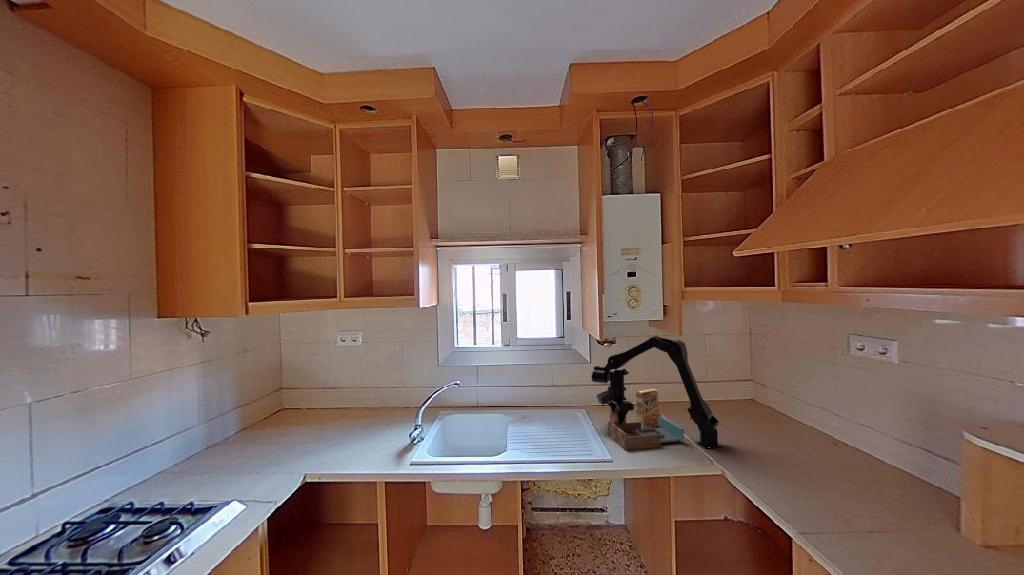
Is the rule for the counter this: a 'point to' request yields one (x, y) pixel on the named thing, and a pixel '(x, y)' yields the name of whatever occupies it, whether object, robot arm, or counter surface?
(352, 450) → the counter surface
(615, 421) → the terracotta block
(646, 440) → the caddy frame
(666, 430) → the sliding tray
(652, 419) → the candy box
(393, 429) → the counter surface
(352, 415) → the counter surface
